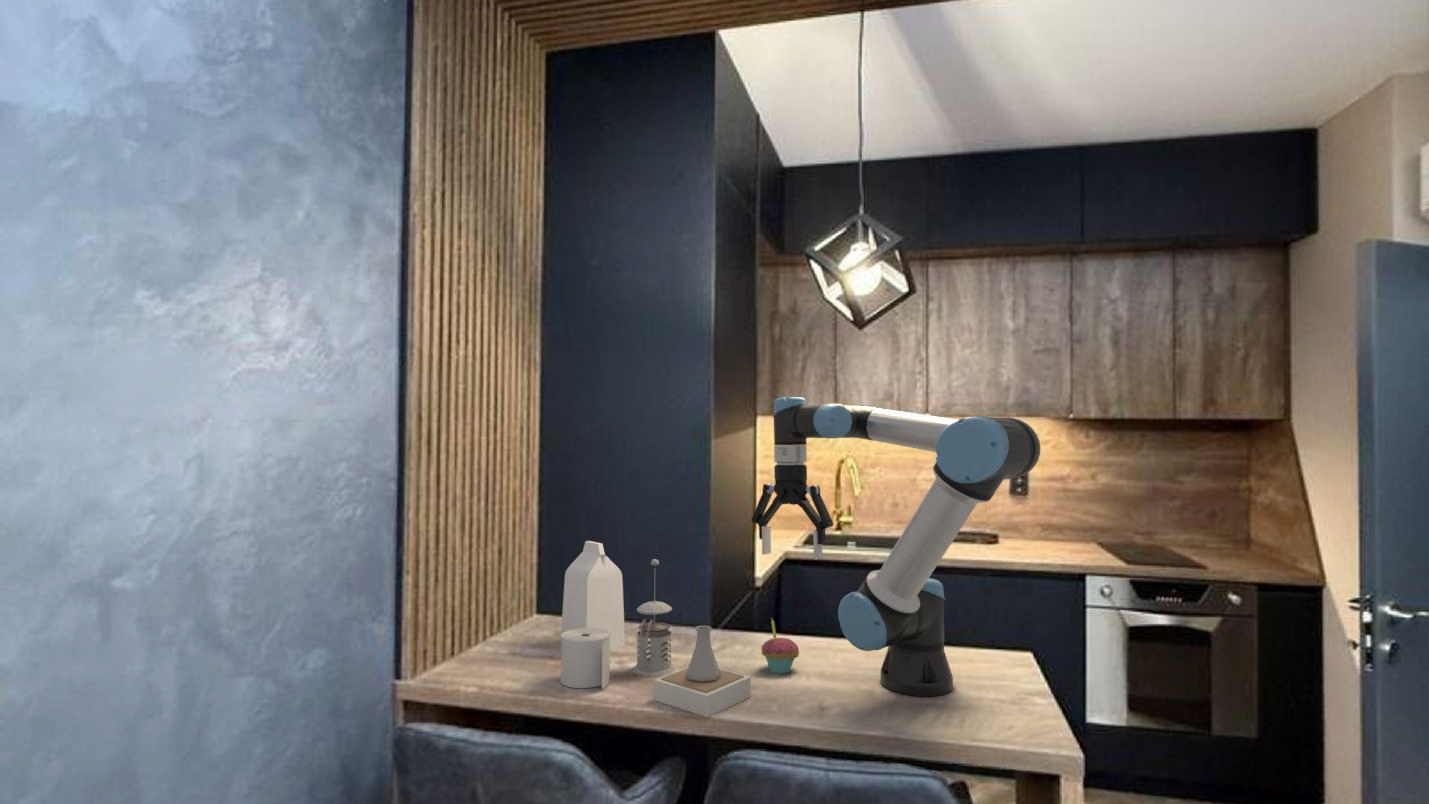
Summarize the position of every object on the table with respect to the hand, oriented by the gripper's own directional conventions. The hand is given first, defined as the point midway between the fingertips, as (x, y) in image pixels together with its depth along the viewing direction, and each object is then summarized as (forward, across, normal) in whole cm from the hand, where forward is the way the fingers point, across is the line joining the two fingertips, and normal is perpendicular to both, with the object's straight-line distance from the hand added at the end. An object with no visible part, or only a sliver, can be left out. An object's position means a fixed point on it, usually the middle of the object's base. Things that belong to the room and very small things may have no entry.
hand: (791, 556), depth 170 cm
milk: (+25, -50, -14) cm, 58 cm away
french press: (+26, -26, -20) cm, 41 cm away
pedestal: (+26, -6, -27) cm, 38 cm away
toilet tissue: (+26, -32, -33) cm, 53 cm away
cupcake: (+26, -2, -2) cm, 26 cm away
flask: (+22, -6, -27) cm, 35 cm away
